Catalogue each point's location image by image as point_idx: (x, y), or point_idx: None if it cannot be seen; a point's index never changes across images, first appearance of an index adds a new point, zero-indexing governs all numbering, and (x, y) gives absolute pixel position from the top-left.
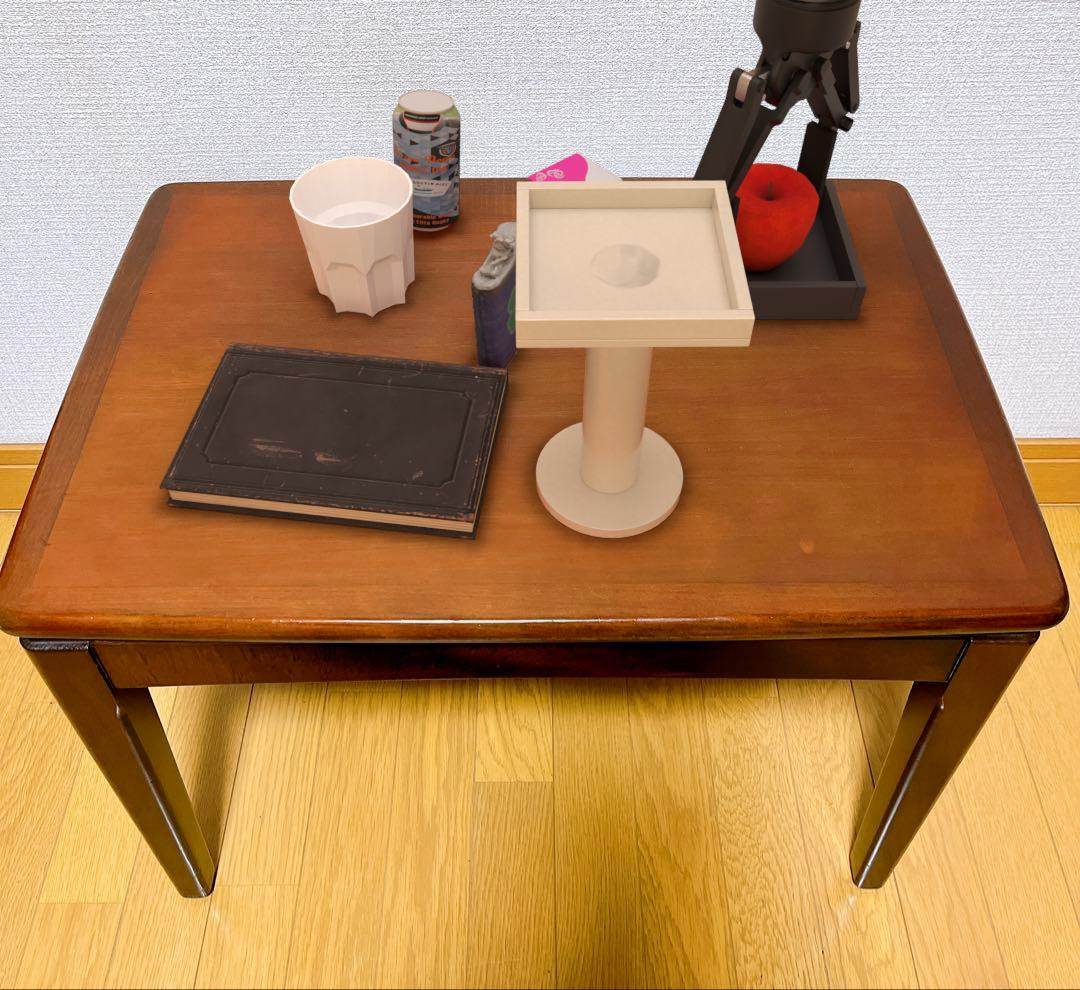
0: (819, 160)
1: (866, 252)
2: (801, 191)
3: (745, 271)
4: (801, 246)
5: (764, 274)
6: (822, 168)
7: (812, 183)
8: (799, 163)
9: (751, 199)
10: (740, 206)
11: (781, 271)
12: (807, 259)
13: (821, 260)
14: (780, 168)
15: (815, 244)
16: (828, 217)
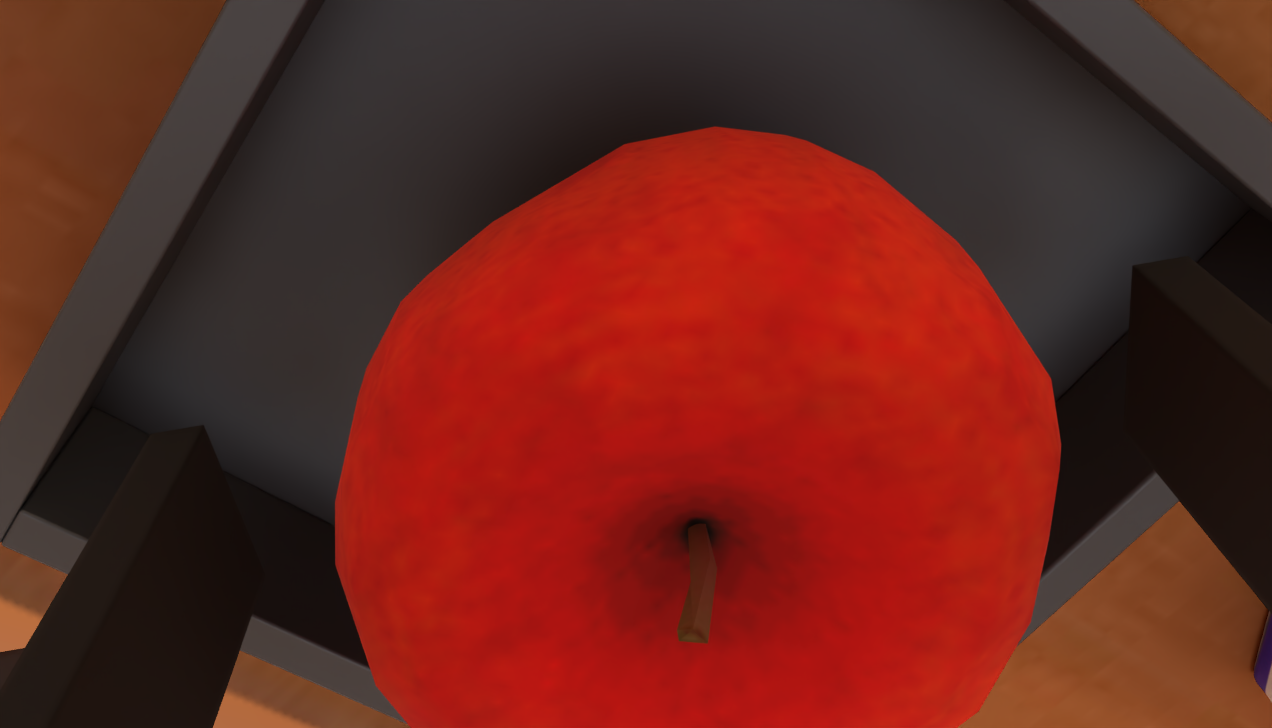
0: (133, 655)
1: (20, 13)
2: (544, 460)
3: None
4: (379, 248)
5: None
6: (132, 589)
7: (198, 533)
8: (218, 699)
9: (937, 570)
10: (1037, 555)
11: None
12: (427, 146)
13: (360, 92)
14: (488, 713)
15: (294, 218)
16: (135, 317)
